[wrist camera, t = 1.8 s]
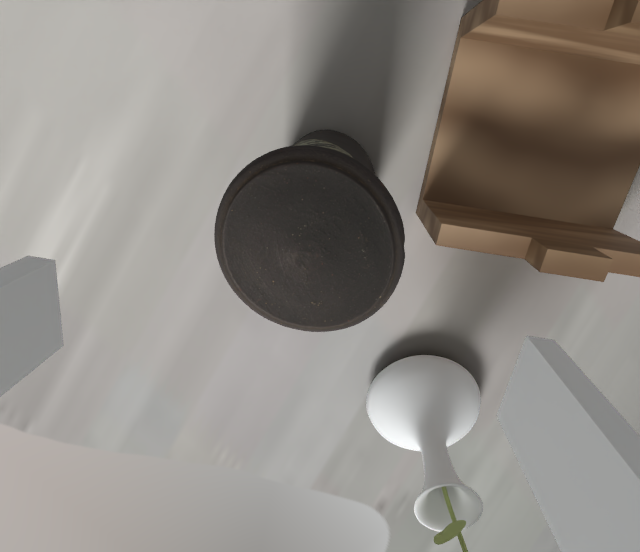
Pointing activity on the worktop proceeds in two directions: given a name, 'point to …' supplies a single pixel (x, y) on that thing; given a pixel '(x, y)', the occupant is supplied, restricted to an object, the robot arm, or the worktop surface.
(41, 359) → the robot arm
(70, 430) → the worktop surface
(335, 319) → the container
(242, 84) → the worktop surface
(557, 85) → the holder
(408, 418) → the flower in vase
